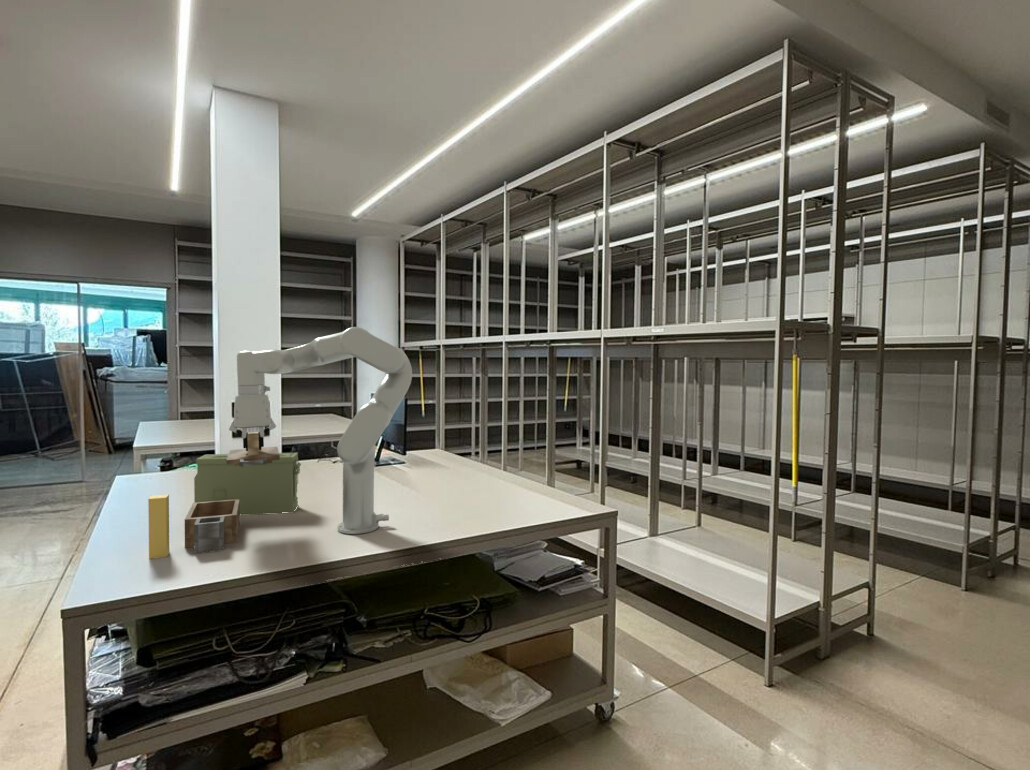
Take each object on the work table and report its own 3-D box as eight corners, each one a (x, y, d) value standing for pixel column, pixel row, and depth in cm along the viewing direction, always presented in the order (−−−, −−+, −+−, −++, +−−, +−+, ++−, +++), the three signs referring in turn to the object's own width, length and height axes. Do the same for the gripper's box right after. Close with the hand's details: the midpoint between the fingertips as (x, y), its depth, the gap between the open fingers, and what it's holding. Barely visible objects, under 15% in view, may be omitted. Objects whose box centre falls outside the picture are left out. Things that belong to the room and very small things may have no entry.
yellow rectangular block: (169, 551, 149) (168, 494, 148) (166, 556, 145) (166, 497, 145) (152, 553, 147) (151, 495, 147) (149, 558, 143) (148, 498, 143)
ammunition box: (297, 513, 189) (297, 456, 189) (193, 517, 182) (192, 458, 181) (301, 505, 199) (301, 451, 198) (203, 509, 191) (202, 453, 191)
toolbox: (239, 523, 176) (239, 499, 175) (235, 548, 152) (235, 520, 151) (193, 527, 170) (193, 502, 170) (181, 555, 146) (181, 525, 146)
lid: (277, 453, 180) (276, 428, 180) (280, 466, 156) (279, 438, 155) (230, 456, 174) (229, 431, 174) (225, 471, 150) (224, 441, 149)
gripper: (280, 389, 174) (281, 446, 174) (222, 391, 167) (224, 450, 167) (280, 390, 167) (282, 449, 168) (220, 392, 160) (223, 454, 161)
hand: (253, 449), depth 168 cm, fingers closed on lid, 3 cm apart
